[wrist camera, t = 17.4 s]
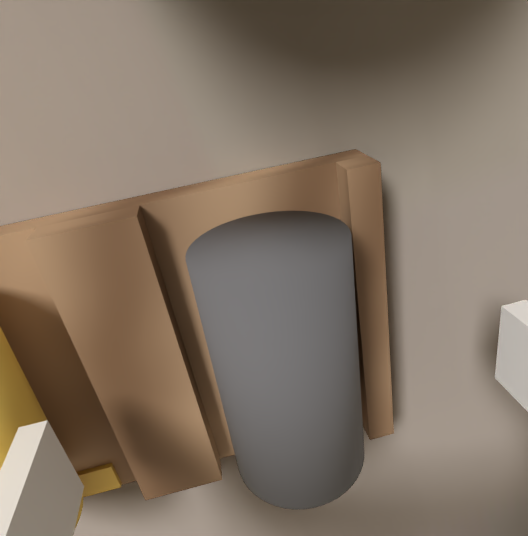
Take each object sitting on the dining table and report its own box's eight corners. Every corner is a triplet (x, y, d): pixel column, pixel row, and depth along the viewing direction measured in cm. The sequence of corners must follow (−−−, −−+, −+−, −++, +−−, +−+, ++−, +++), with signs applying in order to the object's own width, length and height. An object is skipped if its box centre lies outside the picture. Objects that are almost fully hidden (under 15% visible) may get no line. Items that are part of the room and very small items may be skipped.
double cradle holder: (355, 149, 14) (380, 162, 13) (374, 398, 19) (393, 433, 18) (-193, 268, 13) (-252, 301, 11) (-21, 501, 18) (-42, 550, 16)
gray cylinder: (334, 390, 18) (388, 482, 14) (227, 422, 17) (252, 529, 13) (316, 200, 14) (382, 253, 10) (179, 231, 13) (194, 301, 9)
